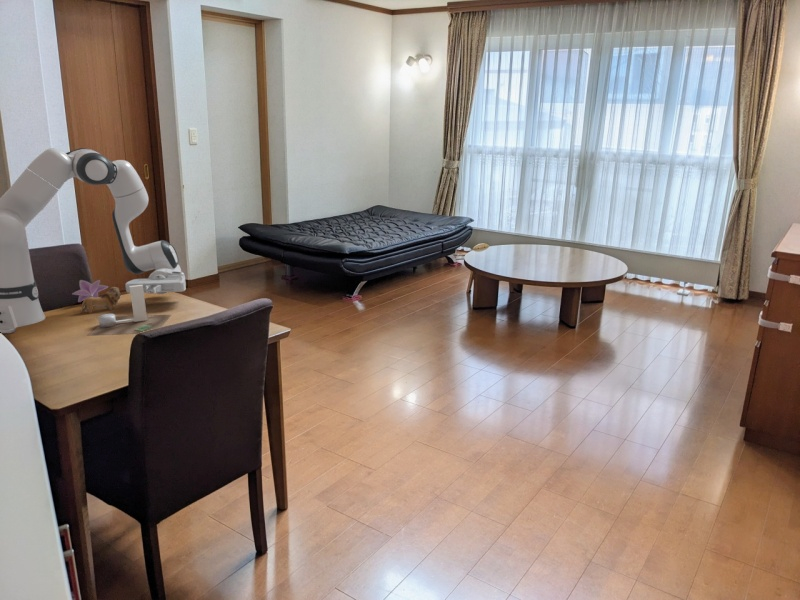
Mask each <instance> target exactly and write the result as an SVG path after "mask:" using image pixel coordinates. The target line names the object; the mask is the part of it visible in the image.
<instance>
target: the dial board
mask: <svg viewBox="0 0 800 600" xmlns="http://www.w3.org/2000/svg"><path fill="white" fill-rule="evenodd" d="M171 317H172V314H151V315H150V314H149V315H147V320H145V321H138V322H134V321H131V322H124V323H116V325H114V326H111V327H100V326H99V325H97V326H96V327H95V328H94V329H93V330H92V331H91V332H89V333H88V334H87V335H86V336H110V335H111V336H113V335H137V334H138V333H140V332H143V331H147V330H151V329H156V328H159V327H161V328H163V326H164V324H165V323H166V322H168V320H169V319H170V318H171ZM115 318H116V321H119V320H127V319H134V315H126V316H125V315H122V316H121V315H120V316H119V315H118V316H116V315H115Z"/></svg>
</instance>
